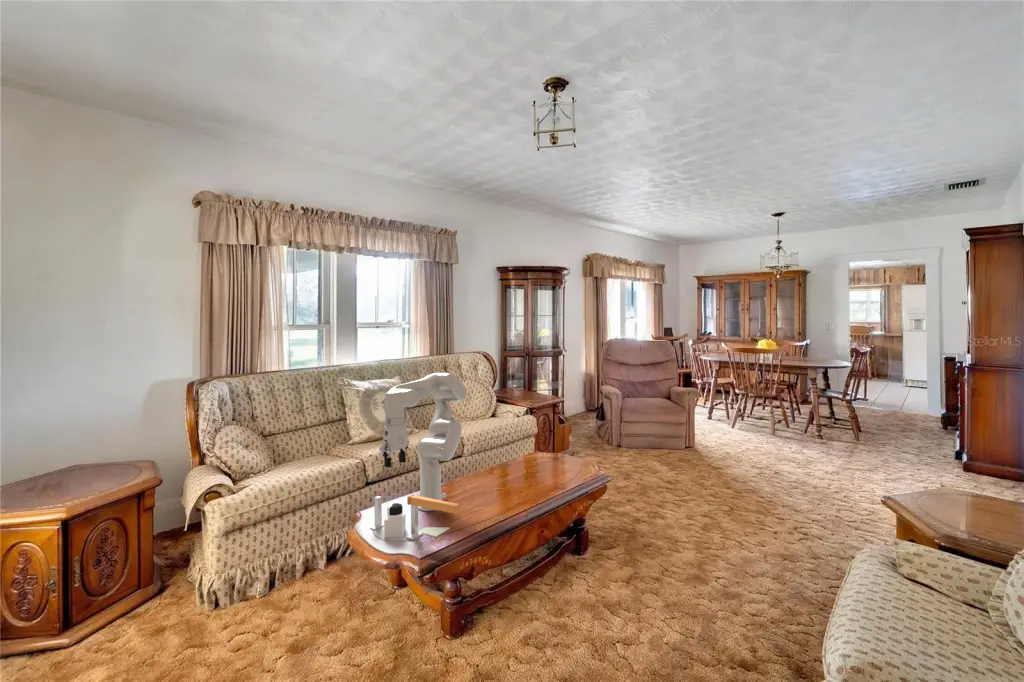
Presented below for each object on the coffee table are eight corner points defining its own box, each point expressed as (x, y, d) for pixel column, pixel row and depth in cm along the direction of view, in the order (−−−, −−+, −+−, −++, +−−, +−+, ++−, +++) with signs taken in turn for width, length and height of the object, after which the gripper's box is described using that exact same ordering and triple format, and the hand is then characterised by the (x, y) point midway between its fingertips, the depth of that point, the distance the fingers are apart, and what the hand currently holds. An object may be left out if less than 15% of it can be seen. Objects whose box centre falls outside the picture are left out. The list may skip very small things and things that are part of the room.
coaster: (432, 524, 197) (432, 523, 197) (450, 529, 192) (450, 527, 192) (417, 533, 189) (417, 531, 189) (436, 537, 184) (436, 536, 184)
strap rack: (380, 524, 198) (380, 494, 198) (422, 535, 186) (422, 502, 187) (370, 529, 193) (369, 498, 193) (412, 540, 181) (412, 507, 181)
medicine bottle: (405, 530, 192) (405, 501, 192) (402, 537, 184) (401, 507, 184) (388, 531, 191) (387, 501, 191) (384, 538, 184) (383, 508, 184)
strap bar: (412, 501, 187) (412, 494, 187) (459, 511, 176) (459, 503, 176) (407, 504, 184) (407, 496, 184) (454, 514, 173) (454, 506, 173)
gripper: (386, 425, 180) (386, 471, 180) (416, 419, 195) (416, 460, 195) (372, 424, 184) (372, 468, 184) (402, 417, 199) (403, 458, 199)
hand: (395, 464), depth 190 cm, fingers open, 7 cm apart
